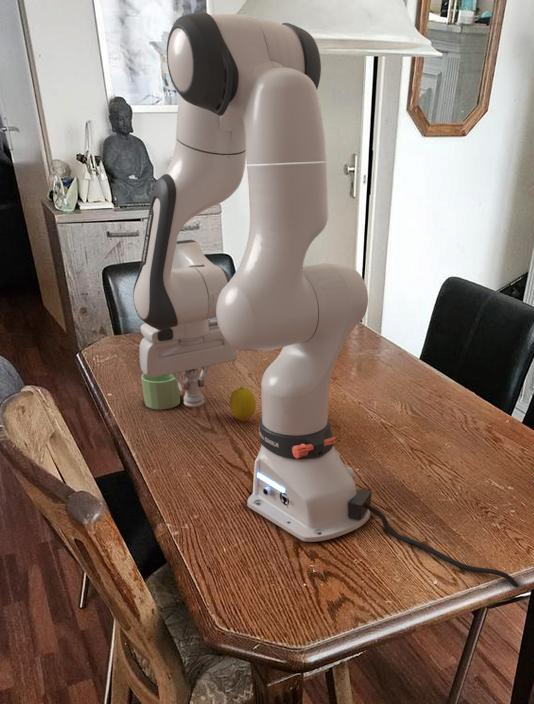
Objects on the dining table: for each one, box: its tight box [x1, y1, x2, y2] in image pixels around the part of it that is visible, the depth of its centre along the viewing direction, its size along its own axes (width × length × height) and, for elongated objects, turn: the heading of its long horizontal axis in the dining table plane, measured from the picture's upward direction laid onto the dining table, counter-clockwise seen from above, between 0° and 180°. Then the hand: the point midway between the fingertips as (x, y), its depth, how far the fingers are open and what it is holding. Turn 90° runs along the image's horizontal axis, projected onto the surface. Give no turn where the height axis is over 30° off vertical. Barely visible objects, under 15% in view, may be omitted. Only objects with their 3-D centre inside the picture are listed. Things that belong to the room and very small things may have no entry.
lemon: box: [229, 386, 257, 422], centre depth 135 cm, size 6×6×8 cm
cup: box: [140, 372, 181, 410], centre depth 142 cm, size 8×8×6 cm
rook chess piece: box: [182, 368, 205, 408], centre depth 134 cm, size 4×4×8 cm
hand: (192, 387), depth 134 cm, fingers closed on rook chess piece, 3 cm apart
